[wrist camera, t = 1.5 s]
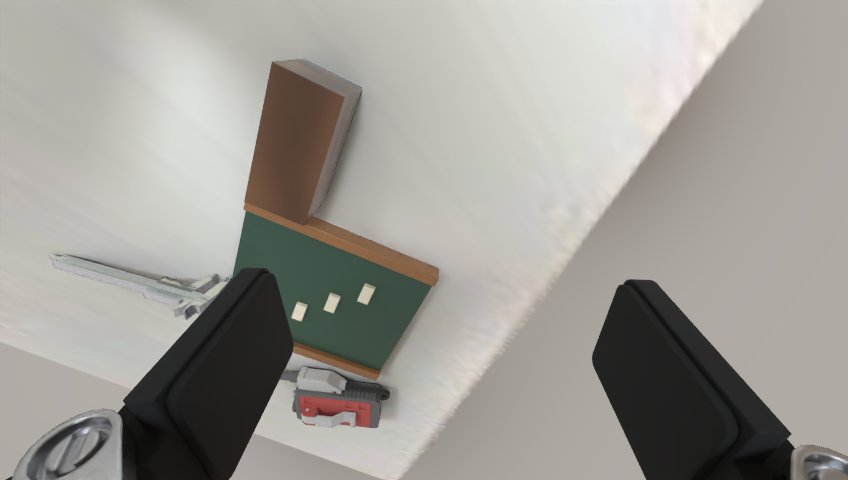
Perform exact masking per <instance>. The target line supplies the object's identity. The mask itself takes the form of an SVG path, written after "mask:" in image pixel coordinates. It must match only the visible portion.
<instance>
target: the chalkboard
mask: <svg viewBox="0 0 848 480" xmlns="http://www.w3.org/2000/svg"><path fill="white" fill-rule="evenodd" d="M244 210H245V211H246V213H245V218H244V223H243V228H242V233H241V238H240V243H239V248H238V253H237V258H236V262H235V267H234V272H233V277H232V279H233V278H234V277H235V276H236V275H237V274H238V273H239V271H240V270H242V269H243V268H246V267H249V268H266V269H268V270H269V272H270V273H272V274H274V275H275V277H276V280H277V284H278V287H279V291H280V295H281V298H282V302H283V305H284V309H285V313H286V316H287V320H288V323H289V327H290V331H291V334H292V338H293V342H294V347H293V352H294V353H296V354H299V355H302V356H305V357H308V358H311V359H314V360H317V361H320V362H323V363H326V364H329V365H332V366H335V367H338V368H341V369H343V370H346V371H349V372H352V373H355V374H358V375H361V376H364V377H367V378H370V379H373V380H377V378H378V376H379V373H380V370H381V369H382V367H383V365H384V364H385V362H386V361H387V359H388V357H389V356H390V354H391V352H392V351H393V349H394V347H395V346H396V344H397V343H398V341H399V339H400V338H401V336H402V334H403V333H404V331H405V329H406V328H407V326H408V325H409V323H410V321H411V320H412V318H413V316H414V315H415V313H416V311H417V310H418V308H419V307H420V305H421V303H422V302H423V300H424V298H425V297H426V295H427V293H428V292H429V290H430V289H431V287H432V286H434V285H435V284H436V282H437V280H438V274H439V269H437V268H435V267H433V266H430V265H428V264H425V263H423V262H421V261H418V260H416V259H413V258H411V257H409V256H406V255H404V254H401V253H399V252H397V251H394V250H392V249H389V248H387V247H385V246H382V245H380V244H377V243H375V242H373V241H370V240H368V239H365V238H363V237H361V236H358V235H356V234H353V233H351V232H349V231H346V230H344V229H341V228H339V227H337V226H334V225H332V224H329V223H327V222H325V221H322V220H320V219H317V218H315V217H311V218H310V219H309V221H308V222H307V223H306V225H305V226H302V225H300V224H297V223H295V222H292V221H290V220H287V219H285V218H283V217H280V216H278V215H275V214H273V213H270V212H268V211H265V210H263V209H261V208H258V207H256V206H253V205H251V204H248V203H246V202H245V205H244ZM365 283H366V284H369V285H371V286H374V287H375V290H374V292H373V294H372V296H371V298H370V300H369V302H368V304H367V305H366V304H364V303H361V302H358V301H357V300H358V297H359V295H360V293H361V291H362V289H363V287H364V285H365ZM330 293H333V294H336V295H339V296H341V297H340V300H339V302H338V304H337V307H336V309H335V311H334V313H331V312H328V311H326V310H324V307H325V305H326V302H327V300H328V297H329V295H330ZM297 302H301V303H304V304H306V305H308V306H307V309H306V312H305V314H304V317H303V319H302V321H298V320H295V319H293V318H292V315H293V312H294V309H295V306H296V304H297Z"/></svg>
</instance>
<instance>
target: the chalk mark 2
mask: <svg viewBox="0 0 848 480" xmlns="http://www.w3.org/2000/svg"><path fill="white" fill-rule="evenodd" d="M340 297H341V296H339V295H336V294H333V293H330V295H329V297H328V300H327V302H326V305H325V307H324V310H326V311H328V312H331V313H334V311H335V309H336V307H337V304H338V302H339V300H340Z"/></svg>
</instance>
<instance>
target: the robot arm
mask: <svg viewBox="0 0 848 480" xmlns="http://www.w3.org/2000/svg"><path fill="white" fill-rule="evenodd" d="M293 347H294V342H293V338H292V334H291V331H290V327H289V323H288V320H287V316H286V313H285V309H284V305H283V302H282V298H281V295H280V291H279V287H278V284H277V280H276V277H275V275H274V274H272V273H270V272H269V270H268V269H266V268H249V267H246V268H243V269H242V270H240V271H239V273H238V274H237V275H236V276H235V277H234V278H233V279H232V280H231V281H230V282H229V284H228V285H227V286H226V287H225V288H224V289H223V290H222V291H221V292H220V294H219V295H218V296H217V297H216V298H215V299H214V300H213V301H212V302H211V303H210V305H209V306H208V307H207V308H206V309H205V310H204V311H203V312H202V313H201V315H200V316H199V317H198V318H197V319H196V320H195V321H194V322H193V323H192V324H191V326H190V327H189V328H188V329H187V330H186V331H185V332H184V333H183V334H182V336H181V337H180V338H179V339H178V340H177V341H176V342H175V343H174V344H173V346H172V347H171V348H170V349H169V350H168V351H167V352H166V353H165V354H164V355H163V357H162V358H161V359H160V360H159V361H158V362H157V363H156V364H155V365H154V367H153V368H152V369H151V370H150V371H149V372H148V373H147V374H146V375H145V376H144V378H143V379H142V380H141V381H140V382H139V383H138V384H137V385H136V386H135V388H134V389H133V390H132V391H131V392H130V393H129V394H128V396H126V397H125V399H124V400H123V401H124V403H125V405H124V406H123V407H122V409H121V410H120V411H119V412H118V413H117V412H116V411H114V410H109V409H98V410H92V411H88V412H85V413H83V414H80V415H77V416H75V417H73V418H71V419H69V420H67V421H65V422H63V423H61V424H59V425H58V426H56V427H55V428H54V429H52V430H51V431H49V432H48V433H46V434H45V435H44V436H42V437H41V438H40V439H39V440H38V441H37V442H36V443H35V444H34V445H33V446H31V447H30V448H29V450H28V451H27V452H26V453H25V455H24V456H23V457H22V458H21V460H20V461H19V463H18V465H17V468H16V469H15V471H14V474H13V476H12V477H10V478H8V479H6V480H229V478H230V477H231V476H232V474H233V472H234V471H235V469H236V467H237V465H238V463H239V461H240V459H241V456H242V455H243V452H244V451H245V448H246V447H247V444H248V442H249V440H250V438H251V436H252V434H253V432H254V430H255V428H256V426H257V424H258V422H259V420H260V418H261V416H262V414H263V412H264V410H265V408H266V406H267V404H268V402H269V400H270V398H271V396H272V394H273V392H274V390H275V388H276V386H277V383H278V381H279V379H280V377H281V375H282V373H283V371H284V369H285V367H286V365H287V363H288V361H289V359H290V357H291V355H292V352H293ZM592 361H593V366H594V369H595V371H596V373H597V375H598V377H599V379H600V381H601V383H602V386H603V388H604V390H605V392H606V394H607V396H608V398H609V401H610V403H611V405H612V407H613V409H614V411H615V413H616V416H617V418H618V420H619V422H620V424H621V426H622V429H623V430H624V433H625V435H626V437H627V439H628V441H629V443H630V445H631V448H632V450H633V452H634V454H635V456H636V458H637V461H638V463H639V465H640V467H641V469H642V471H643V473H644V476H645V478H646V480H848V456H845V455H843V454H841V453H838V452H836V451H833V450H831V449H828V448H824V447H820V446H815V445H801V446H800V447H798V448H796V449H795V448H794V446H793V445H792V444H791V443H790V442H789V441H788V440H787V438H788V437H789V436H790V435H791V433H790V432H789V430H788V429H787V428H786V427H785V426H784V425H783V424H782V423H781V421H780V420H779V419H778V418H777V417H776V416H775V415H774V414H773V413H772V412H771V411H770V409H769V408H768V407H767V406H766V405H765V404H764V403H763V401H762V400H761V399H760V398H759V397H758V396H757V395H756V394H755V392H754V391H753V390H752V389H751V388H750V387H749V386H748V385H747V384H746V383H745V381H744V380H743V379H742V378H741V377H740V376H739V375H738V374H737V372H736V371H735V370H734V369H733V368H732V367H731V366H730V365H729V364H728V363H727V361H726V360H725V359H724V358H723V357H722V356H721V355H720V354H719V352H718V351H717V350H716V349H715V348H714V347H713V346H712V345H711V343H710V342H709V341H708V340H707V339H706V338H705V337H704V336H703V335H702V333H701V332H700V331H699V330H698V329H697V328H696V327H695V326H694V325H693V323H692V322H691V321H690V320H689V319H688V318H687V317H686V315H685V314H684V313H683V312H682V311H681V310H680V309H679V308H678V307H677V305H676V304H675V303H674V302H673V301H672V300H671V299H670V298H669V297H668V295H667V294H666V293H665V292H664V291H663V290H662V289H661V288H660V287H659V285H658V284H657V283H655V282H654V281H652V280H627V281H626V282H625V283H624V284H623V285H619V286H618V288H617V290H616V293H615V295H614V298H613V301H612V303H611V306H610V309H609V311H608V314H607V317H606V319H605V322H604V325H603V327H602V330H601V333H600V336H599V338H598V341H597V344H596V346H595V349H594V352H593V356H592Z"/></svg>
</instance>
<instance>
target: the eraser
mask: <svg viewBox="0 0 848 480" xmlns="http://www.w3.org/2000/svg"><path fill="white" fill-rule="evenodd" d="M361 91H362V88H361V87H359V86H357V85H355V84H353V83H351V82H349V81H347V80H345V79H343V78H341V77H339V76H337V75H335V74H333V73H331V72H329V71H327V70H325V69H323V68H321V67H319V66H317V65H315V64H313V63H311V62H308V61H306V60H304V59H301V60H287V61H276V62H272V65H271V70H270V75H269V80H268V85H267V90H266V95H265V100H264V105H263V110H262V115H261V120H260V125H259V130H258V135H257V140H256V146H255V151H254V156H253V161H252V166H251V171H250V176H249V181H248V186H247V191H246V196H245V201H244V202H246V203H248V204H251V205H253V206H256V207H258V208H261V209H263V210H265V211H268V212H270V213H273V214H275V215H278V216H280V217H283V218H285V219H287V220H290V221H292V222H295V223H297V224H300V225H302V226H305V225H306V223H307V222H308V221H309V219H310V218H311V217H312V216H313V214H314V213H315V212H316V211H317V209H318V208H319V207H320V205H321V204H322V203H323V201H324V200H325V198H326V195H327V192H328V189H329V186H330V183H331V180H332V177H333V174H334V171H335V168H336V165H337V162H338V159H339V156H340V153H341V150H342V147H343V144H344V141H345V138H346V136H347V133H348V130H349V127H350V124H351V121H352V118H353V115H354V112H355V109H356V106H357V103H358V100H359V97H360V94H361Z"/></svg>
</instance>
